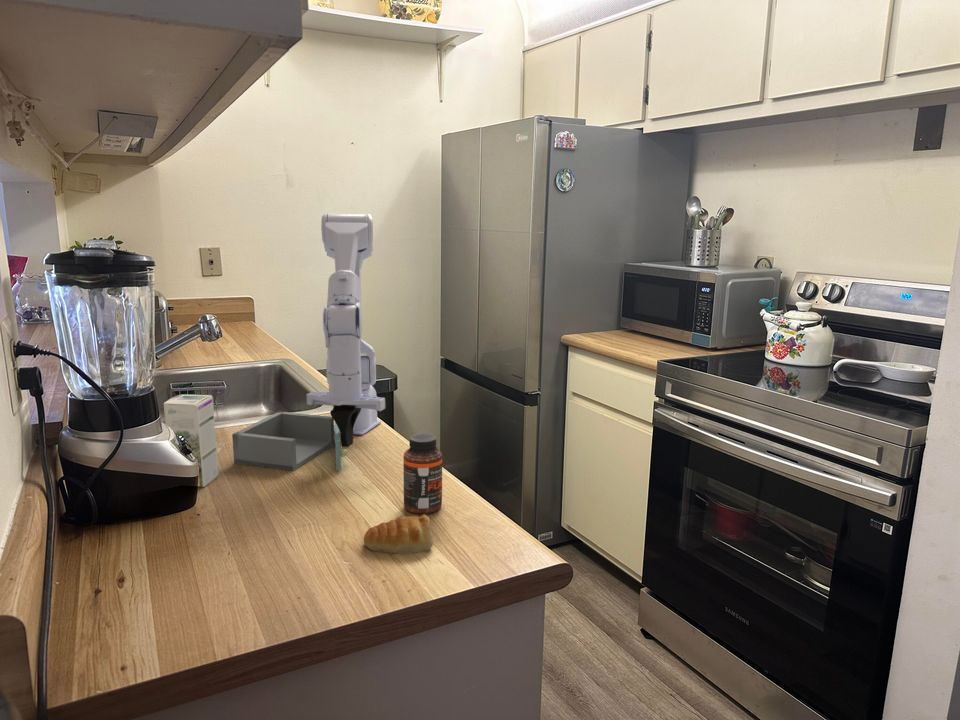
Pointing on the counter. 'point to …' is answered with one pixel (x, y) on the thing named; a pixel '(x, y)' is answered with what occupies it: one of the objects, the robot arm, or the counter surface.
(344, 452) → the door
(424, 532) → the pastry
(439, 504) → the supplement bottle
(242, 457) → the grey open box
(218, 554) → the counter surface
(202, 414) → the syrup box
